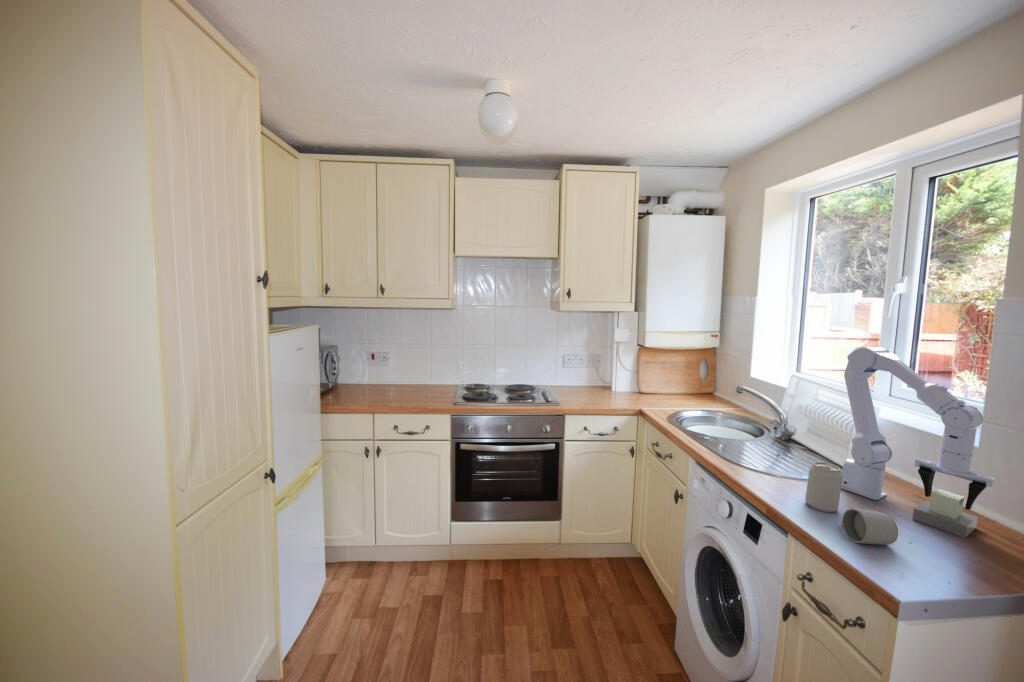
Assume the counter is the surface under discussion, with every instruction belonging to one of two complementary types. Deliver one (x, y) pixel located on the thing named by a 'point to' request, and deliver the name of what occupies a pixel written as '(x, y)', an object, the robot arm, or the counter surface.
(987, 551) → the counter surface
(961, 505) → the green block
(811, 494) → the can
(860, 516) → the grey cup
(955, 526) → the stone base
